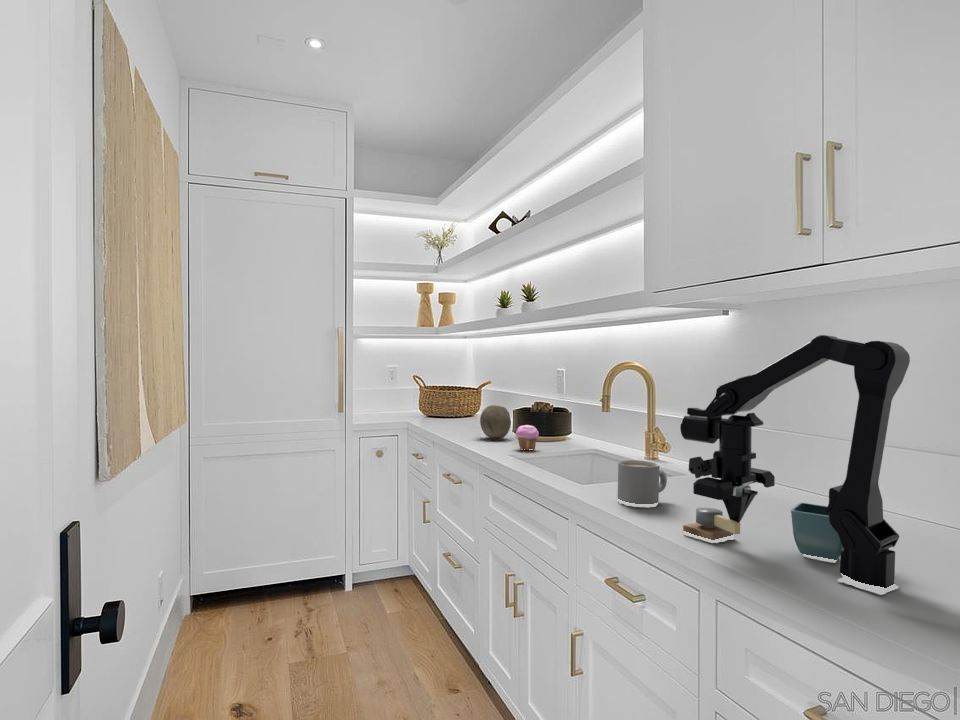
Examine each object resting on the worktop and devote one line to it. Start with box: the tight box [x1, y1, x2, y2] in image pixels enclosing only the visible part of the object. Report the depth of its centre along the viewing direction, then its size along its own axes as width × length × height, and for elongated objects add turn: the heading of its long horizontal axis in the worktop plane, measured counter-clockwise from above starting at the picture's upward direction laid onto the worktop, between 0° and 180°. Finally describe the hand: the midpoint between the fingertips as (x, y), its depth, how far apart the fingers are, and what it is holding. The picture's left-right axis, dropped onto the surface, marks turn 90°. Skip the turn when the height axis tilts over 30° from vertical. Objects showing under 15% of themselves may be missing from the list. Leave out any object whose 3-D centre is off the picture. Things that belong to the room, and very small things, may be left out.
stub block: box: [682, 522, 733, 540], centre depth 117 cm, size 7×7×3 cm
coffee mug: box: [616, 459, 668, 504], centre depth 144 cm, size 13×10×10 cm
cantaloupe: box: [479, 405, 512, 441], centre depth 252 cm, size 14×14×15 cm
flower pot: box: [790, 502, 844, 561], centre depth 106 cm, size 9×9×9 cm
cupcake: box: [515, 424, 540, 451], centre depth 224 cm, size 9×9×10 cm
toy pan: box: [695, 507, 741, 535], centre depth 114 cm, size 11×5×2 cm, turn 14°
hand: (734, 526), depth 112 cm, fingers closed
